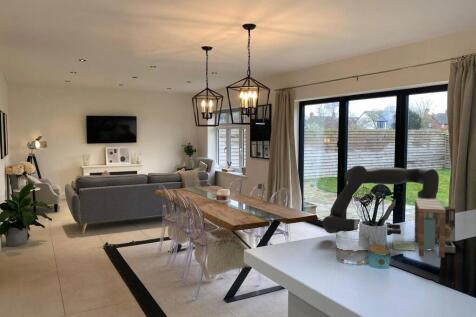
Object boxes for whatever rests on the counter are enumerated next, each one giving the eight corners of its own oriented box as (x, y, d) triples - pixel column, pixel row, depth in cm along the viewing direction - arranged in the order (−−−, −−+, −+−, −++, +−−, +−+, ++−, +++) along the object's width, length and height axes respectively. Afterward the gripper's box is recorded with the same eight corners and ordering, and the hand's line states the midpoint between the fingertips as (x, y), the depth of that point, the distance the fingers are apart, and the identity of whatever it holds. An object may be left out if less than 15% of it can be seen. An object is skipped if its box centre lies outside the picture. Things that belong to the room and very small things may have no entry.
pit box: (441, 246, 169) (441, 240, 169) (451, 247, 167) (451, 241, 167) (444, 252, 160) (444, 246, 160) (455, 253, 159) (455, 247, 159)
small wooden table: (414, 240, 179) (414, 198, 178) (437, 241, 176) (437, 199, 174) (418, 255, 158) (419, 208, 157) (444, 257, 154) (445, 209, 153)
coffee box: (449, 237, 182) (449, 206, 181) (455, 241, 176) (456, 208, 175) (430, 237, 183) (430, 206, 182) (435, 241, 177) (436, 209, 176)
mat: (393, 241, 178) (393, 241, 178) (413, 243, 175) (413, 242, 175) (393, 249, 167) (393, 248, 167) (415, 251, 164) (415, 250, 164)
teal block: (422, 246, 170) (422, 217, 169) (433, 247, 168) (433, 217, 167) (423, 249, 166) (423, 219, 165) (434, 250, 164) (435, 220, 163)
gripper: (363, 223, 170) (401, 225, 164) (365, 216, 183) (400, 218, 177) (363, 238, 171) (401, 241, 164) (365, 230, 184) (399, 233, 178)
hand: (400, 229), depth 171 cm, fingers open, 8 cm apart
